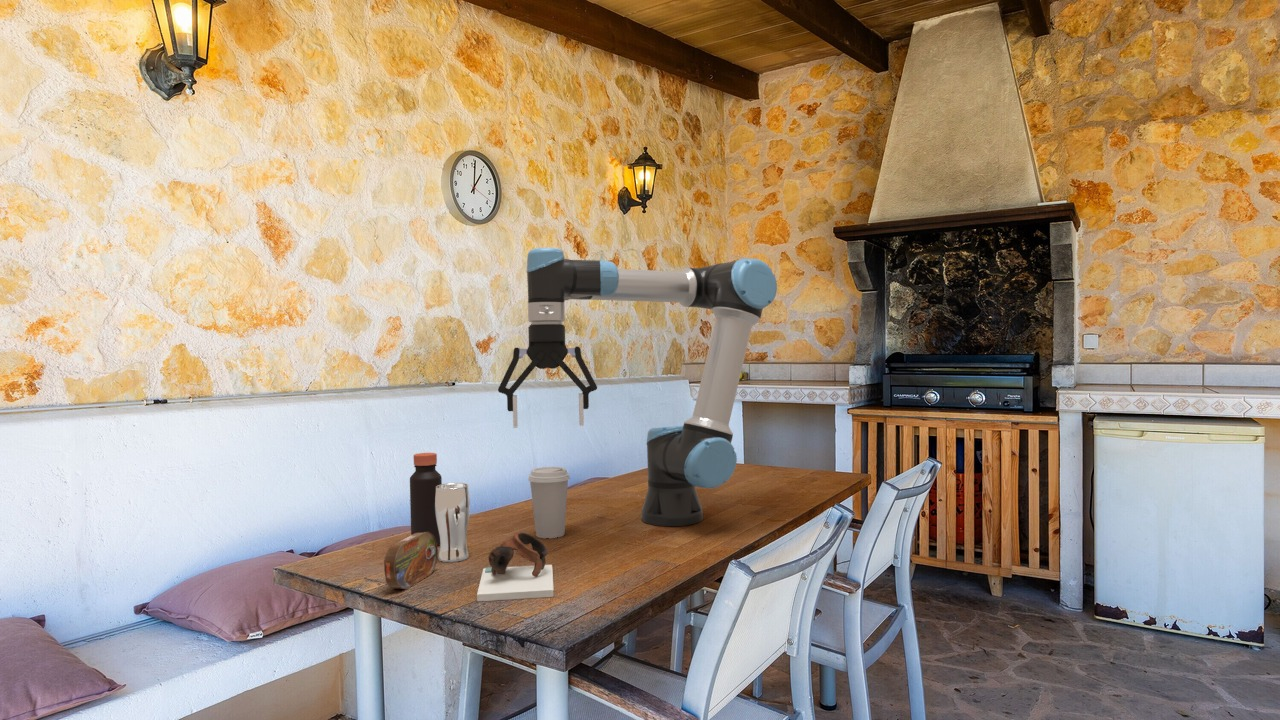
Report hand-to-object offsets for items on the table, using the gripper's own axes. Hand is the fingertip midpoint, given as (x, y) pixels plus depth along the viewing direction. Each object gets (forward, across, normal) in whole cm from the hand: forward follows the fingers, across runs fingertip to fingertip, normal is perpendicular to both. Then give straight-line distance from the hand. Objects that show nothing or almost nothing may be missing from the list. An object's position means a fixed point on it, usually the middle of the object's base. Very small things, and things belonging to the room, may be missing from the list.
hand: (548, 426), depth 155 cm
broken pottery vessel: (+26, -7, -16) cm, 31 cm away
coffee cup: (+27, 0, +16) cm, 31 cm away
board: (+27, -6, -19) cm, 33 cm away
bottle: (+27, -27, +13) cm, 40 cm away
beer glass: (+27, -20, +1) cm, 34 cm away
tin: (+27, -26, -13) cm, 40 cm away
